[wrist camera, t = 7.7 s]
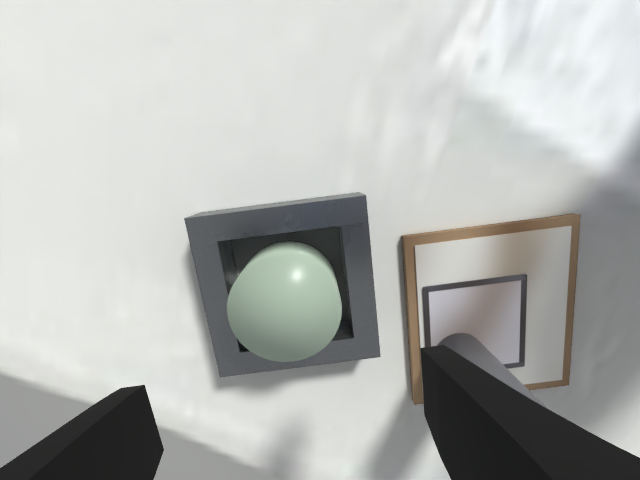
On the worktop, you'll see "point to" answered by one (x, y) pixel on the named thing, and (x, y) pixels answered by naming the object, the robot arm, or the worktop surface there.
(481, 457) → the robot arm
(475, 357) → the marker
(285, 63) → the worktop surface
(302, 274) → the button
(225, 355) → the button housing
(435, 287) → the wooden framed board
